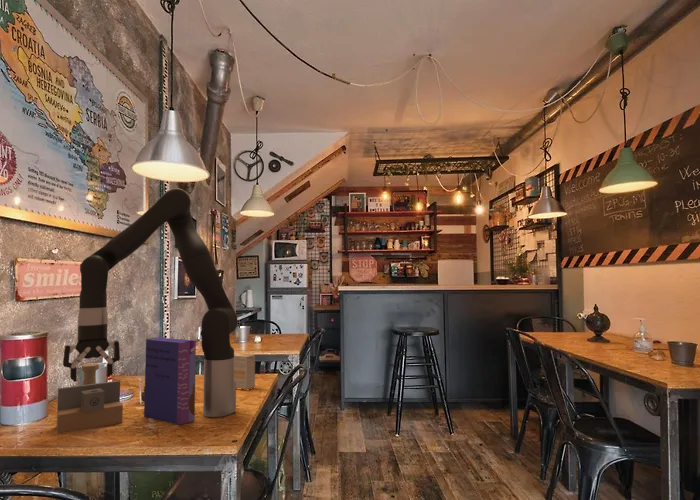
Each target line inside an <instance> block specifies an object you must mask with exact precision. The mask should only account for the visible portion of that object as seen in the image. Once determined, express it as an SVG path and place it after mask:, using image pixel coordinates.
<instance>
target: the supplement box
mask: <svg viewBox="0 0 700 500" xmlns="http://www.w3.org/2000/svg"><path fill="white" fill-rule="evenodd" d="M234 381H235V382H236V388H241V389H245V390H244V391H246V390H247V389H251V388H254V387H255V388H256V355H255V354H251V353H249V354H248V353H236V354H235V353H234ZM255 388H254V389H255ZM251 390H252V389H251ZM247 391H248V390H247Z"/></svg>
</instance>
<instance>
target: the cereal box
mask: <svg viewBox="0 0 700 500" xmlns="http://www.w3.org/2000/svg"><path fill="white" fill-rule="evenodd" d="M196 351H197V340H192V339H182V338H181V339H180V338H167V337H151V338H147V339H145V362H144V363H145V369H144V401H143V402H144V404H143V408H144V410H143V416H144V418H147V419H152V420H157V421H161V422H164V423H168V424H172V425H178V426H184V425H187V424H190V423H193V422H195V420H196V419H195V417H196V415H195V414H196V413H195V411H196V409H195V407H196V364H197V362H196V360H197V358H196V357H197V356H196Z"/></svg>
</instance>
